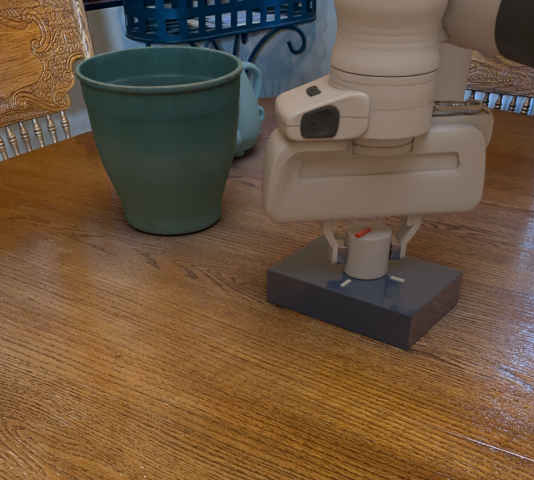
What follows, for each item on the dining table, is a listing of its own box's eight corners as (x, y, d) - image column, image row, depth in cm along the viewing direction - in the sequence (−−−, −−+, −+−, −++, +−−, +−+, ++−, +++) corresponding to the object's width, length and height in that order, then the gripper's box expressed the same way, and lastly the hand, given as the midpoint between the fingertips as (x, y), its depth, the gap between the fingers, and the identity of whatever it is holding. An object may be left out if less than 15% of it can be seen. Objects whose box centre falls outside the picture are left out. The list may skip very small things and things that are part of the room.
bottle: (418, 137, 111) (445, -60, 94) (438, 130, 114) (468, -63, 97) (445, 145, 108) (477, -58, 91) (465, 138, 111) (500, -60, 94)
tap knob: (357, 256, 71) (360, 214, 68) (395, 267, 69) (401, 224, 66) (334, 271, 68) (336, 228, 66) (373, 284, 66) (377, 240, 64)
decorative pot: (183, 131, 114) (175, 34, 105) (275, 141, 110) (275, 40, 101) (134, 162, 103) (120, 57, 94) (235, 175, 98) (230, 65, 89)
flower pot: (249, 246, 81) (246, 82, 70) (93, 251, 80) (63, 86, 69) (243, 189, 94) (239, 44, 83) (108, 193, 94) (86, 47, 82)
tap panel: (457, 303, 71) (464, 269, 68) (406, 350, 64) (412, 315, 62) (324, 262, 78) (326, 230, 76) (266, 301, 71) (266, 267, 69)
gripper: (484, 88, 62) (456, 239, 72) (257, 98, 60) (258, 252, 69) (513, 108, 58) (479, 266, 67) (268, 119, 55) (268, 281, 65)
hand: (365, 259), depth 68 cm, fingers closed on tap knob, 4 cm apart
